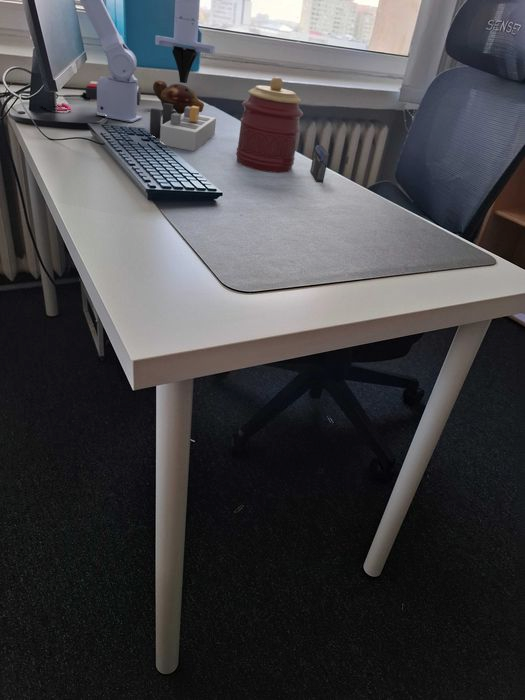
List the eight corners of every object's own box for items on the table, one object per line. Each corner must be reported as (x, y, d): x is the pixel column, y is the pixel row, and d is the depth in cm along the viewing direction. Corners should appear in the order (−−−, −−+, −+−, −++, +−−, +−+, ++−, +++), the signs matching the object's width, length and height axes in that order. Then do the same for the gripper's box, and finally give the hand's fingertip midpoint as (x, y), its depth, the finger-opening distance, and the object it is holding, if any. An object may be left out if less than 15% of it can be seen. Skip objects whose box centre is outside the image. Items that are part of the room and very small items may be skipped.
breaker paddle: (189, 121, 120) (190, 107, 119) (192, 119, 123) (193, 105, 121) (195, 122, 120) (196, 108, 119) (198, 120, 123) (199, 106, 121)
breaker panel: (159, 144, 115) (161, 115, 112) (184, 128, 133) (186, 103, 130) (194, 151, 115) (196, 122, 112) (214, 134, 133) (217, 109, 130)
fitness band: (75, 115, 128) (75, 108, 127) (52, 114, 124) (52, 108, 124) (61, 107, 133) (61, 101, 132) (38, 107, 129) (38, 100, 128)
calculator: (89, 79, 155) (140, 84, 158) (90, 95, 157) (140, 99, 160) (84, 84, 146) (138, 89, 149) (86, 101, 148) (139, 106, 151)
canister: (225, 155, 116) (235, 68, 106) (275, 157, 122) (288, 75, 112) (251, 173, 107) (264, 79, 97) (303, 174, 113) (320, 86, 103)
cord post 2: (160, 130, 127) (162, 103, 124) (163, 128, 129) (164, 102, 126) (170, 131, 127) (171, 105, 124) (172, 130, 129) (174, 104, 126)
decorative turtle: (153, 106, 153) (157, 76, 149) (203, 118, 155) (208, 90, 151) (147, 109, 145) (150, 78, 141) (199, 122, 146) (204, 92, 142)
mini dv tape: (310, 172, 116) (315, 144, 113) (316, 173, 116) (322, 145, 113) (316, 182, 109) (322, 153, 106) (322, 183, 109) (329, 154, 106)
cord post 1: (148, 137, 119) (149, 109, 116) (151, 135, 121) (152, 107, 118) (158, 139, 119) (159, 111, 116) (161, 137, 121) (162, 109, 118)
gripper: (151, 13, 119) (150, 78, 126) (212, 24, 119) (207, 88, 126) (160, 14, 125) (159, 76, 132) (218, 24, 125) (213, 86, 132)
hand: (183, 82), depth 130 cm, fingers closed
